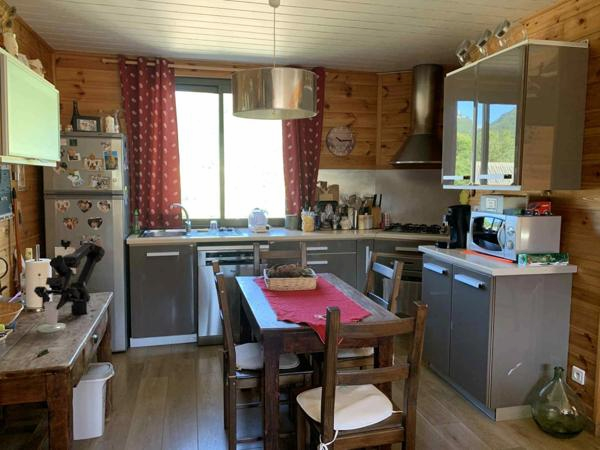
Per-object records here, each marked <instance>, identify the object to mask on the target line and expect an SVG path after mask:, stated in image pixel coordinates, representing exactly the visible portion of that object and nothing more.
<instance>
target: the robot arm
mask: <svg viewBox="0 0 600 450" xmlns="http://www.w3.org/2000/svg"><path fill="white" fill-rule="evenodd" d="M105 253H106V251H105V249H104V248H103V247H102V246H100V245H96V244H95V243H94V242H83V243H82V245H81V246H79V248H77V249H76V250H75V251H73V252H72V253H69V254H64V256H63V255H61V254H57V255H56V257H53V258H52V259H50V261H49V266H50V267H51V268H52V270H53V271H54V272H55V274H57V276H56V277H51V276H50V277H46V280H45V285H46V286H48V287H49V289H47V287H46V286H42V285H41V286H35V288H34V289H33V292H34V294H35V295H37V296H38V298H41V299H42V300H41V301H42V303H41V305H42V306H41V309H42V310H45V306H44V303H45V302H48V301H51V300H52V297H50V295H52V293H53V295H58V296H59V295H60V299H59V300H58V301H59V303H58V305H57V308H56V309H57V310H58V311H59V310H61V308H62V307H64V306H65V305H66V304H67V303H71V304H70V313H71V315H72V316H83V315H88V314H89V313H88V309H87V308H88V305H87V303H89V302H90V301H91V295H90V294H89V292H88V291H89V290H88V287H87V286H88V284H89V280H90V279H91V276H92V274H93V272H94V269H95V267H96V265H97V264H98V263H99V262H100V261H102V259H103V257H104V256H105ZM85 257H86V260H85V263H84V265H83V266H82V269H81V272H80V273H79V275H78V278H77V280H76V282H73V281H72V282H71V283H70V280H71V278H72V277H74V276H75V273H74V270H73V269H77V268H79V267H80V265H81V261H82V260H83V259H84V258H85Z"/></svg>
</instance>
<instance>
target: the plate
mask: <svg viewBox="0 0 600 450" xmlns="http://www.w3.org/2000/svg"><path fill="white" fill-rule="evenodd" d="M66 327H67V326H66V324H65V323H63V322H57V324H55V325H48V323H46V324H45V323H43V324H42V325H39V326H38V327H37V331H38V332H39V333H43V334H45V333H46V334H49V333H58V332H60V331H63V330H65V329H66Z"/></svg>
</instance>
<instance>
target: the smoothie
mask: <svg viewBox="0 0 600 450" xmlns="http://www.w3.org/2000/svg"><path fill="white" fill-rule="evenodd" d="M59 301H60V300H54V294H53V293H52V294H51V300H50V301H48V302H45V303H44V306H45V309H44V312H45V317H46V324H48V325H55V324H57V323H58V316H59V310H57V309H56V308H57V305H58V303H59Z"/></svg>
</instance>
